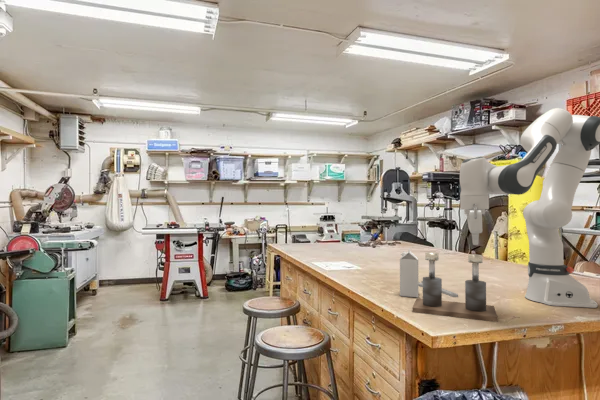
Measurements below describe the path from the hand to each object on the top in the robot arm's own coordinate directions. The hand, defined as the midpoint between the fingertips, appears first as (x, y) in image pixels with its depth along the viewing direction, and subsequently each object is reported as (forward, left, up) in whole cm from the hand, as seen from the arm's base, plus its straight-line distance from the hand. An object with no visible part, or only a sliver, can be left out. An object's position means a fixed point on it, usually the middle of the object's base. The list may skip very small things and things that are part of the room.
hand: (475, 244), depth 123 cm
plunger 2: (0, 0, -12) cm, 12 cm away
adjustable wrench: (+15, -31, -24) cm, 42 cm away
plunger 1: (+14, 0, -12) cm, 19 cm away
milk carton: (+24, -17, -24) cm, 38 cm away
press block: (+7, 0, -24) cm, 24 cm away
